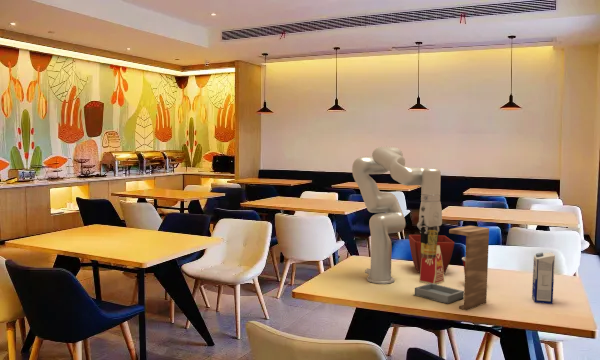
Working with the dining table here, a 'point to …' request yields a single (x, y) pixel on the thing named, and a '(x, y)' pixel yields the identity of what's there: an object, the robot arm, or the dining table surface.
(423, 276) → the milk carton
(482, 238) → the wooden c-shaped stand
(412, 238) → the plant pot
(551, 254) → the milk carton
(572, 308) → the dining table surface
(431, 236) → the sauce bottle
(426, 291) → the tray
